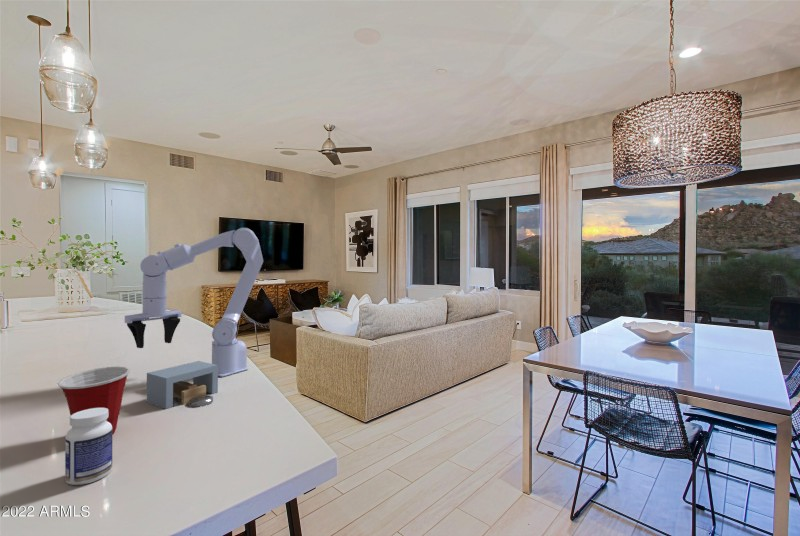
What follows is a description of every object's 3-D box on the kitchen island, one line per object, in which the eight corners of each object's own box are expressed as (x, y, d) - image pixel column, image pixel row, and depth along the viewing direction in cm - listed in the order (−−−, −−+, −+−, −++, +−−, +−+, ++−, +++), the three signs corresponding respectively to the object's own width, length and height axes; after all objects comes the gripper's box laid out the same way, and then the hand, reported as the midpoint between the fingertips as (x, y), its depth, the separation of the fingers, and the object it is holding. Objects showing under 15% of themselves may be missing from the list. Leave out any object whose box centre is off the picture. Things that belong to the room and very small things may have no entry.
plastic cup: (45, 441, 71) (46, 376, 70) (112, 420, 80) (112, 363, 80) (74, 455, 66) (74, 386, 65) (141, 431, 75) (141, 370, 75)
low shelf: (198, 387, 102) (198, 360, 102) (217, 392, 98) (217, 365, 98) (146, 402, 90) (146, 372, 90) (166, 408, 87) (166, 378, 86)
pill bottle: (121, 466, 62) (121, 406, 62) (91, 487, 57) (92, 420, 56) (87, 465, 62) (87, 405, 62) (54, 486, 57) (54, 419, 57)
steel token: (205, 398, 94) (205, 394, 94) (217, 402, 91) (217, 397, 91) (184, 405, 90) (184, 400, 90) (196, 409, 87) (196, 404, 87)
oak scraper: (163, 385, 103) (163, 372, 103) (206, 397, 94) (206, 383, 94) (141, 391, 98) (141, 378, 98) (183, 404, 89) (183, 390, 89)
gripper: (171, 295, 117) (171, 339, 117) (118, 298, 104) (118, 348, 105) (185, 296, 114) (185, 341, 114) (132, 300, 101) (132, 351, 101)
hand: (154, 345), depth 109 cm, fingers open, 7 cm apart
